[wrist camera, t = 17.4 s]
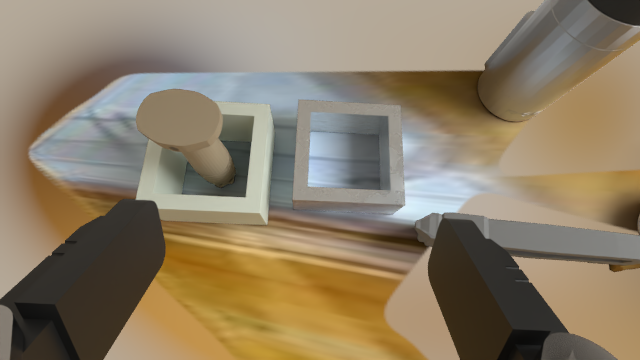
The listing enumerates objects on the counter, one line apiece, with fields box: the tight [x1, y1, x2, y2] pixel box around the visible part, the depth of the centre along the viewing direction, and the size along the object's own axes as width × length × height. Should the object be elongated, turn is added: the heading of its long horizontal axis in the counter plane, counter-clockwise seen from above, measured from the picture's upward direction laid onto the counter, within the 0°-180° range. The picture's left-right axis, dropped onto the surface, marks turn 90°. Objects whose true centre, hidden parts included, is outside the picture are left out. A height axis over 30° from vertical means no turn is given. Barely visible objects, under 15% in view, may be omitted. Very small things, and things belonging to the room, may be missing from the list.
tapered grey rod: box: [415, 213, 640, 272], centre depth 36 cm, size 3×25×15 cm, turn 82°
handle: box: [136, 89, 236, 188], centre depth 33 cm, size 5×6×15 cm
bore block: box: [292, 100, 405, 214], centre depth 39 cm, size 12×12×5 cm
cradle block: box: [136, 101, 275, 225], centre depth 36 cm, size 12×12×7 cm
